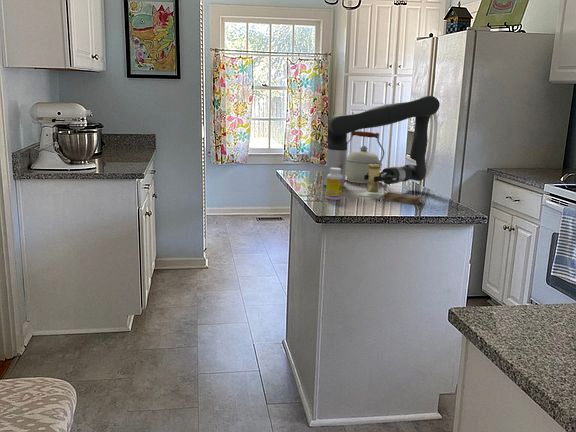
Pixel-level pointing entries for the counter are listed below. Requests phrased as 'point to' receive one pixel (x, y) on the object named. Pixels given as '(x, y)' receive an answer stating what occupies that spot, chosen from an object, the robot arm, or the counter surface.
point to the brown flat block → (402, 198)
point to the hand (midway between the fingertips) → (369, 178)
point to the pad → (372, 195)
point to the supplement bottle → (334, 184)
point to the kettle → (361, 159)
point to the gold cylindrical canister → (373, 171)
